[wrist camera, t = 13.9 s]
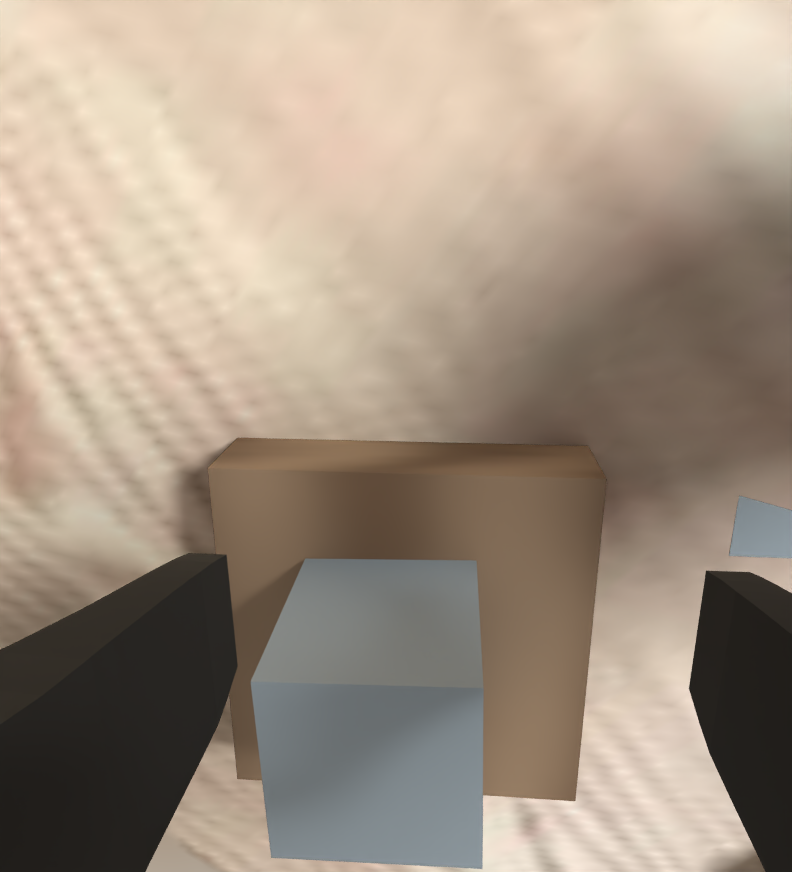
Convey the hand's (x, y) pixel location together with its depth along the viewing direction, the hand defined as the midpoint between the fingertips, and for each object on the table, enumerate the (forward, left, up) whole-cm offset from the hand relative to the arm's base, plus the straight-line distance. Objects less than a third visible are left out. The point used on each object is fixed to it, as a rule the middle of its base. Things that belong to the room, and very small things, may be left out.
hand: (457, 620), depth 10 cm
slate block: (+2, +5, -7) cm, 9 cm away
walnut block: (+1, +5, -10) cm, 11 cm away
